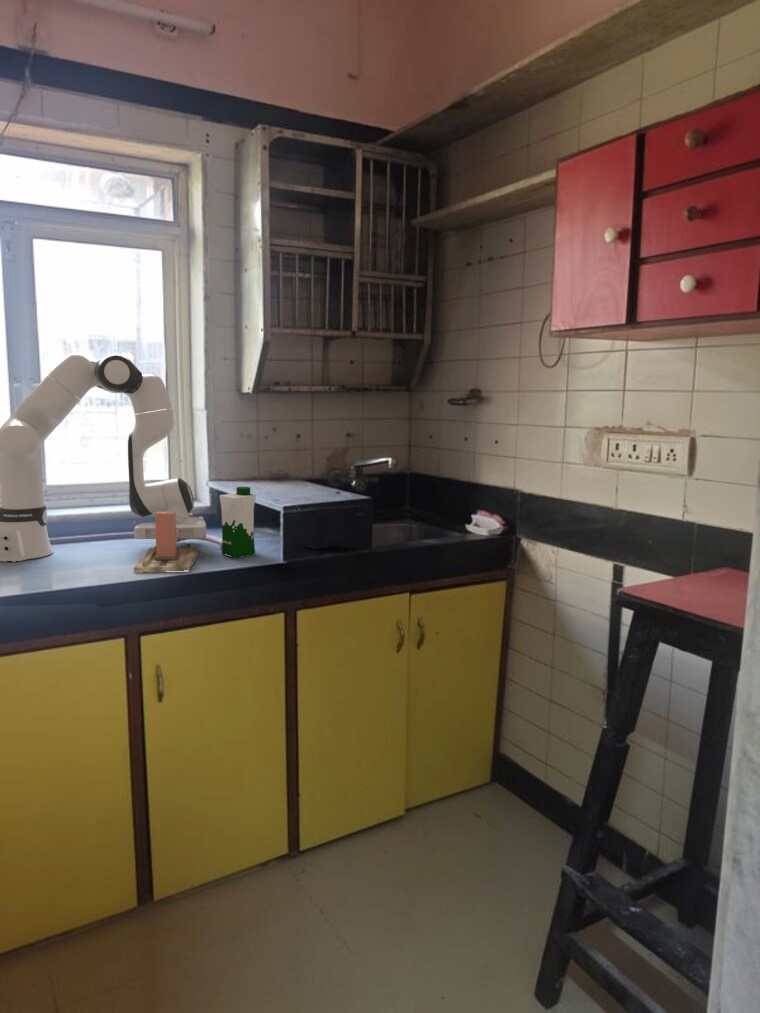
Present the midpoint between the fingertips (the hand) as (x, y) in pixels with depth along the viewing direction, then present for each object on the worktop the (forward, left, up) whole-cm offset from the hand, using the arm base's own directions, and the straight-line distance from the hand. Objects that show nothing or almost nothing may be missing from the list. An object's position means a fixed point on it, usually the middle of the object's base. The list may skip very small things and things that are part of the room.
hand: (167, 536), depth 198 cm
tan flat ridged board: (0, 0, -7) cm, 7 cm away
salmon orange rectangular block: (0, -2, -6) cm, 6 cm away
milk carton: (+19, +8, -8) cm, 22 cm away
